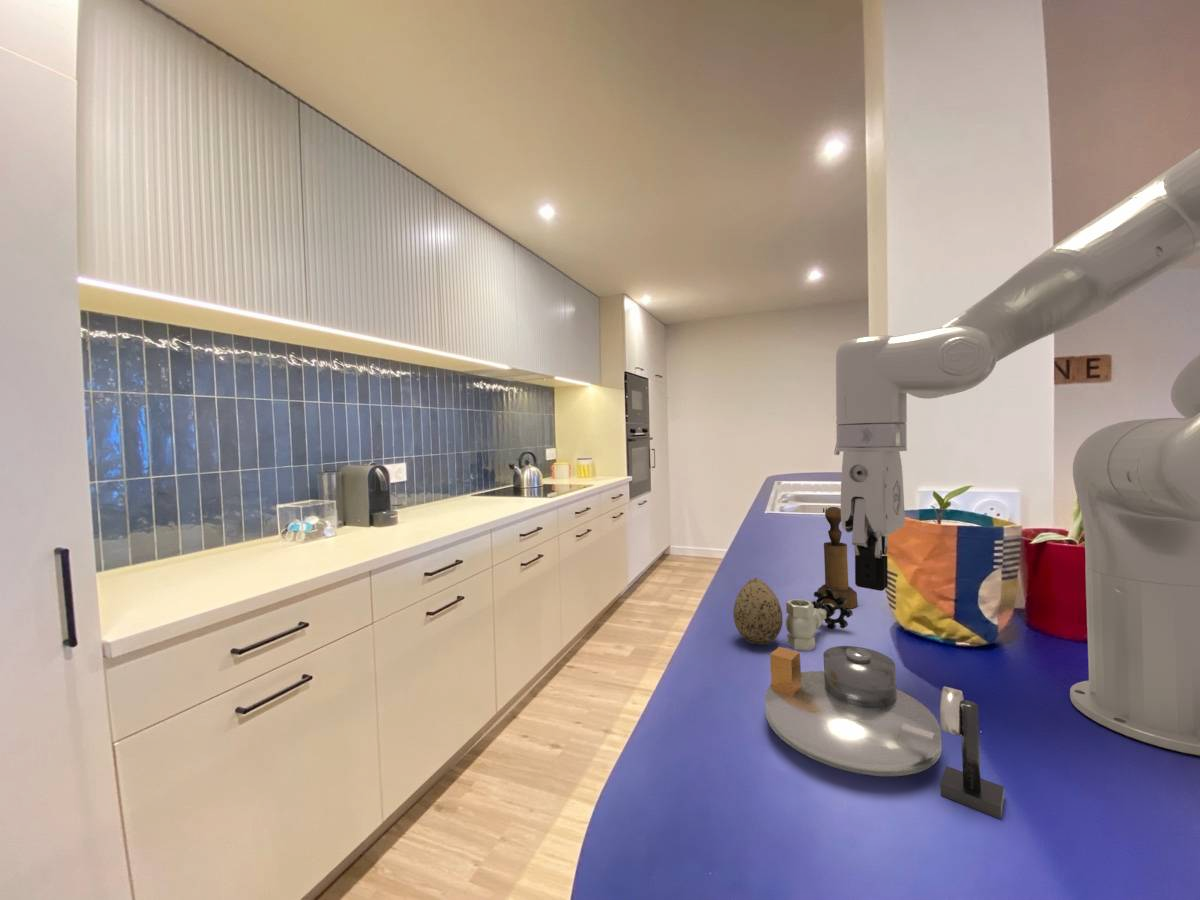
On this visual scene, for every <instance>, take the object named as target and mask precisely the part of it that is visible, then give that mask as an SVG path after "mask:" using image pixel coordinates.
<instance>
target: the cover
mask: <svg viewBox="0 0 1200 900" xmlns="http://www.w3.org/2000/svg"><path fill="white" fill-rule="evenodd" d="M896 670H897V669H896V663H895V661H894V660H893V659H892V658H890V657H889V656H888V655H885V654H884V653H882V652H880V651H876V650H873V649H869V648H866V647H860V646H854V645H840V646H838V645H837V646H833V647H830V648H827V649H826V650H824V652H823V671H824V680H825V688H826V690H827V691H828V692H829V693H830V694H831V695H832V696H833V697H835V698H837V699H839V700H841V701H843V702H845V703H848V704H851V705H855V706H859V707H865V708H885V707H889V706H891V705H893V704H894V703H895V702H896V700H897V692H896V689H897V674H896V673H897V671H896Z"/></svg>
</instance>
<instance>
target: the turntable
mask: <svg viewBox="0 0 1200 900" xmlns="http://www.w3.org/2000/svg"><path fill="white" fill-rule="evenodd" d="M769 657H770V660H769V661H770V683H771V684H770V685H769V686H768V687H767V689H766V691H765V695H764V700H765V701H764V702H765V716H766V719H767V720H766V721H767V722H768V724H769V726H770V727H771V729H772V730H773V732H774V733H775V734H776V735H777V736H778V737H779V738H780V739H781V740H782V741H783V742H784V743H786V744H787V745H789V746H790V747H791V748H793V749H794V750H796V751H797V752H799V753H801V754H802V755H804V756H806V757H808V758H811V759H813V760H814V761H817V762H819V763H822V764H824V765H827V766H829V767H832V768H836V769H839V770H843V771H847V772H850V773H854V774H855V773H856V774H861V775H866V776H867V775H868V776H875V777H876V776H877V777H898V776H899V777H901V776H908V775H913V774H918V773H920V772H923V771H925V770H927V769H929V768H931V767H932V766H934V765H935V764H936V763H937V762H938V760H939V758H940V757H941V753H942V729H941V725H940V722H939V721H938V719H937V718H936V717H935V715H934V714H933V713H932V711H930V710H929V708H927V707H926V706H925V705H924V704H923V703H921V702H920V701H919V700H917V699H916V698H915V697H913V696H912V695H909V694H908V693H906V692H904V691H902V690H900V689H898V688H896V692H897V700H896V702H895V703H894V704H893V705H891V706H889V707H885V708H865V707H859V706H855V705H851V704H848V703H845V702H843V701H841V700H839V699H837V698H835V697H833V696H832V695H831V694H830V693H829V692H828V691H827V690H826V688H825V680H824V670H816V671H815V670H811V671H809V670H808V671H802V670H801V668H802V667H801V651H800V652H799V651H798V650H794V649H793V650H792V649H788V648H785V647H781V646H778V647H777V648H776V649H775V650H773V651H772V652H770V654H769ZM801 671H802V672H801Z"/></svg>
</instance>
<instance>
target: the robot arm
mask: <svg viewBox="0 0 1200 900" xmlns="http://www.w3.org/2000/svg"><path fill="white" fill-rule="evenodd" d="M1198 253H1200V148H1198V149H1197V150H1195V151H1193V152H1192V153H1190V155H1187V156H1186V157H1185V158H1183V159H1182V160H1181V161H1179V162H1177V163H1176V164H1174V165H1172V167H1170V168H1169V169H1166V170H1165V171H1164V172H1163V173H1161V174H1160V175H1158V176H1156V177H1154V178H1153V179H1152V180H1150V181H1148V182H1147V183H1146V184H1145V185H1143V186H1142V187H1140V188H1138V189H1137V190H1136V191H1134V192H1133V193H1131V194H1130V195H1127V196H1126V197H1125V198H1124V199H1122V200H1120V201H1119V202H1118V203H1116V204H1114V205H1113V206H1111V207H1110V208H1108V209H1107V210H1106V211H1103V212H1102V213H1101V214H1100V215H1098V216H1096V217H1095V218H1094V219H1092V220H1090V221H1089V222H1088V223H1086V224H1085V225H1083V226H1082V227H1080V228H1078V229H1077V230H1075V231H1074V232H1072V233H1070V234H1069V235H1068V236H1066V237H1065V238H1063V239H1062V240H1061V241H1059V242H1057V243H1056V244H1054V245H1052V246H1051V247H1050V248H1048V249H1046V250H1045V251H1043V252H1042V253H1041V254H1040V255H1038V256H1037V257H1036V258H1034V259H1032V260H1031V261H1030V262H1028V263H1027V264H1025V265H1024V266H1023V267H1021V268H1020V269H1019V270H1018V271H1017V272H1015V273H1014V274H1013V275H1012V276H1011V277H1009V278H1008V279H1007V280H1006V281H1004V282H1003V283H1002V284H1001V285H999V286H997V288H996V289H994V290H993V291H991V292H990V293H989V294H987V295H986V296H984V297H983V298H982V299H981V300H979V301H978V302H976V303H975V304H973V305H972V306H970V307H969V308H967V309H966V310H964V311H963V312H962V313H959V314H958V315H957V316H955V317H954V318H952V319H951V320H949V321H948V322H947V323H945V324H943V325H942V326H940V327H938V328H932V329H928V330H923V331H918V332H913V333H907V334H903V335H901V334H900V335H895V336H894V335H888V334H887V335H868V336H862V337H858V338H857V337H856V338H853V339H850V340H846V341H845V342H843V343H841V344H840V345H839V346H838V348H837V350H836V352H835V353H836V355H835V404H836V405H835V406H836V408H835V410H836V412H835V413H836V414H835V415H836V420H835V421H836V422H835V423H836V426H835V427H836V452H842V453H843V454H842V464H841V480H840V481H841V482H840V509H841V522H840V523H841V527H842V529H843V530H844V531H845V532H846V533H852V539H851V543H852V546H854V548H853V549H854V573H855V574H854V584H855V585H856V586H857V587H859V588H864V589H869V590H873V591H874V590H875V591H880V592H881V591H884V590H885V589H887V587H888V583H889V582H888V575H889V573H888V555H887V554H888V538H889V536H890V535H891V534H893V533H895V532H896V531H898V530H900V529H901V528H902V527H904V525H905V522H906V519H905V518H906V514H905V497H904V477H903V465H902V457H901V453H900V452H907V450H908V449H907V448H908V445H907V439H908V438H907V434H908V433H907V420H908V419H907V418H908V417H907V409H908V408H907V406H908V405H907V404H908V403H907V399H908V398H907V397H908V396H907V394H909V395H910V396H913V397H915V398H918V399H923V400H924V399H926V400H928V399H929V400H930V399H931V400H932V399H937V398H941V397H945V396H949V395H955V394H958V393H962V392H965V391H968V390H970V389H972V388H975V387H977V386H978V385H980V384H981V383H982V382H984V381H985V380H986V379H987V378H988V377H990V375H991V374H992V373H993V371H994V368H995V367H996V364H997V363H998V362H999V361H1001V360H1003V359H1004V358H1006V357H1008V356H1010V355H1012V354H1013V353H1015V352H1017V351H1019V350H1022V348H1025V347H1026V346H1028V345H1031V344H1033V343H1034V342H1036V341H1039V340H1041V339H1043V338H1045V337H1046V338H1047V337H1048V336H1050V335H1053V334H1056V333H1058V332H1060V331H1062V330H1063V331H1064V330H1065V329H1068V328H1070V327H1072V326H1075V325H1077V324H1078V323H1081V322H1083V321H1085V320H1086V319H1088V318H1091V317H1093V316H1094V315H1095V316H1096V314H1099V313H1100V312H1102V311H1105V310H1106V309H1108V308H1109V307H1111V306H1113V305H1114V304H1117V302H1119V301H1121V300H1122V299H1124V298H1126V297H1127V296H1129V295H1131V294H1133V293H1134V292H1136V291H1137V290H1139V289H1140V288H1142V287H1144V286H1145V285H1146V284H1148V283H1150V282H1152V281H1153V280H1155V279H1157V278H1158V277H1160V276H1162V275H1163V274H1165V273H1167V272H1168V271H1170V270H1171V269H1173V268H1174V267H1176V266H1178V265H1180V264H1181V263H1183V262H1185V261H1186V260H1188V259H1190V258H1193V256H1195V255H1196V254H1198ZM1170 399H1171V403H1172V404H1173V407H1174V409H1176V411H1177V412H1178V413H1179V414H1180V415H1181V416H1182V417H1169V418H1168V417H1165V418H1162V417H1161V418H1145V419H1144V418H1143V419H1142V418H1141V419H1134V420H1133V419H1132V420H1127V421H1120V422H1117V423H1114V424H1111V425H1107V426H1105V427H1102V428H1101V429H1099V430H1096V431H1095V432H1092V434H1090V435H1089V436H1088V437H1087V438H1086V439H1085V440H1084V441H1083V442H1082V443H1081V444H1080V446H1079V447H1078V449H1077V451H1076V453H1075V454H1074V458H1073V461H1072V462H1073V463H1072V477H1073V485H1074V490H1075V493H1076V496H1077V501H1078V505H1079V509H1080V513H1081V519H1082V520H1081V521H1082V526H1083V534H1084V535H1083V537H1084V550H1085V551H1084V552H1085V553H1084V554H1085V558H1084V559H1085V565H1084V566H1085V569H1084V570H1085V599H1086V626H1087V659H1088V680H1083V681H1080V682H1076V683H1074V684H1073V685H1071V687H1070V689H1069V691H1070V692H1069V699H1070V700H1071V701H1070V702H1071V704H1072V705H1074V707H1075V708H1076V709H1077V710H1078V711H1080V713H1082V714H1083V715H1084V716H1086V717H1088V718H1089V719H1091V720H1092V721H1095V722H1096V723H1098V724H1100V725H1101V726H1104V727H1106V728H1108V729H1110V730H1112V731H1114V732H1117V733H1119V734H1122V735H1124V736H1126V737H1128V738H1131V739H1135V740H1137V741H1140V742H1143V743H1146V744H1150V745H1153V746H1155V747H1156V746H1157V747H1159V748H1162V749H1167V750H1171V751H1176V752H1179V753H1183V754H1187V755H1188V754H1189V755H1195V756H1199V757H1200V353H1199V354H1197V355H1196V356H1195V357H1193V359H1191V360H1190V361H1189V362H1188V363H1187V364H1186V365H1185V367H1183V368H1182V370H1180V372H1179V373H1178V374H1177V376H1176V378H1175V380H1174V382H1173V383H1172V387H1171V390H1170Z"/></svg>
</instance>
